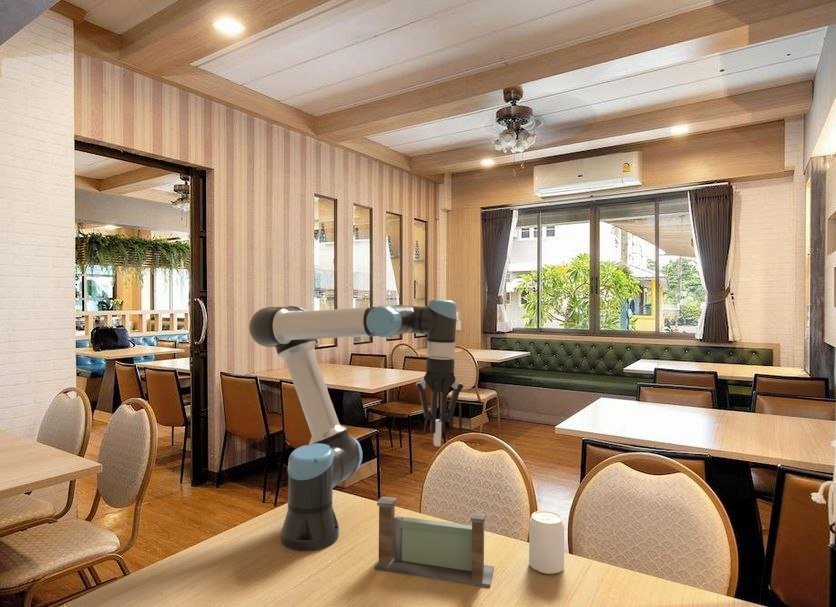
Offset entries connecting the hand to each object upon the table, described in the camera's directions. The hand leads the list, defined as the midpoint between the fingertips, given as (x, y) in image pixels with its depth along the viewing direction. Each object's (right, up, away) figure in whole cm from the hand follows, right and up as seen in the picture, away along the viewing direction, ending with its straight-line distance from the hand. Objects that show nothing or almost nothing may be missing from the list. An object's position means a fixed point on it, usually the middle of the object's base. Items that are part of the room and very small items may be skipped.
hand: (436, 444), depth 135 cm
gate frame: (-1, -25, -17) cm, 30 cm away
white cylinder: (+26, -25, -15) cm, 39 cm away
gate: (0, -24, -16) cm, 29 cm away
